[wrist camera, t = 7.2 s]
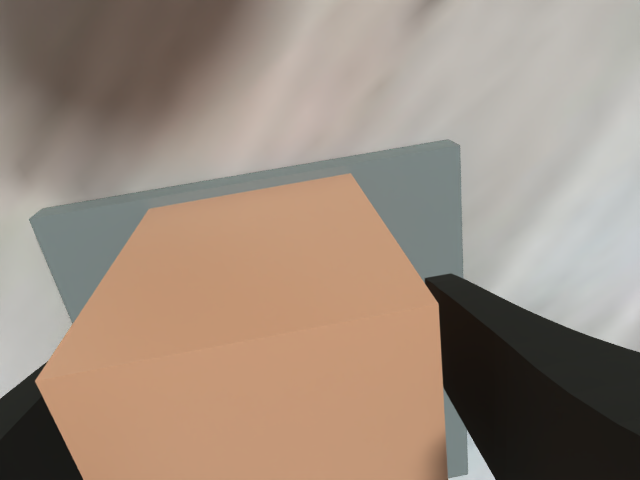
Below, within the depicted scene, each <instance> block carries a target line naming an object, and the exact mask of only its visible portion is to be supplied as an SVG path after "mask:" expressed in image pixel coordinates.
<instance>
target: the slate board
mask: <svg viewBox="0 0 640 480" xmlns="http://www.w3.org/2000/svg"><path fill="white" fill-rule="evenodd" d="M349 173H351V174H352V176H353V177H354V179H355V180H356V182H357V183H358V185H359V186H360V188H361V189H362V191H363V192H364V194H365V195H366V197H367V198H368V200H369V201H370V203H371V204H372V206H373V207H374V209H375V210H376V212H377V213H378V215H379V216H380V217H381V219H382V220H383V222H384V223H385V225H386V226H387V228H388V229H389V231H390V232H391V234H392V235H393V237H394V238H395V240H396V241H397V243H398V244H399V246H400V247H401V249H402V250H403V252H404V253H405V255H406V256H407V258H408V259H409V261H410V262H411V264H412V265H413V267H414V268H415V270H416V271H417V273H418V274H419V276H420V277H421V279H422V280H423V282H424V283H425V278H428V277H433V276H439V275H444V274H450V273H452V274H454V275H456V276H459V277H461V278H463V249H462V207H461V165H460V145H458V144H456V143H454V142H453V141H451V140H443V141H437V142H431V143H425V144H419V145H413V146H408V147H402V148H396V149H390V150H384V151H378V152H372V153H366V154H361V155H355V156H349V157H343V158H337V159H331V160H325V161H319V162H313V163H308V164H302V165H296V166H290V167H284V168H278V169H272V170H266V171H261V172H255V173H249V174H243V175H237V176H231V177H225V178H219V179H214V180H208V181H202V182H196V183H190V184H184V185H178V186H172V187H167V188H161V189H155V190H149V191H143V192H137V193H131V194H125V195H119V196H114V197H108V198H102V199H96V200H90V201H84V202H78V203H72V204H67V205H61V206H55V207H49V208H43V209H41V210H40V211H39V212H37V213H36V214H35V215H34V216H32V217H31V218H30V219H29V221H30V223H31V225H32V228H33V230H34V233H35V235H36V237H37V240H38V242H39V245H40V247H41V249H42V252H43V254H44V256H45V259H46V261H47V264H48V266H49V268H50V271H51V273H52V276H53V278H54V280H55V283H56V285H57V287H58V290H59V292H60V295H61V297H62V299H63V302H64V304H65V307H66V309H67V311H68V314H69V316H70V318H71V321H72V323H74V321H75V320H76V318H77V317H78V315H79V314H80V312H81V311H82V309H83V308H84V306H85V305H86V303H87V302H88V300H89V299H90V297H91V296H92V294H93V293H94V291H95V290H96V288H97V287H98V285H99V284H100V282H101V280H102V279H103V277H104V276H105V274H106V273H107V271H108V270H109V268H110V267H111V265H112V264H113V262H114V261H115V259H116V258H117V256H118V255H119V253H120V252H121V250H122V249H123V247H124V246H125V244H126V243H127V241H128V240H129V238H130V237H131V235H132V234H133V232H134V231H135V229H136V228H137V226H138V225H139V223H140V222H141V220H142V219H143V217H144V215H145V214H146V212H147V211H148V209H151V208H156V207H162V206H168V205H173V204H179V203H185V202H190V201H196V200H202V199H207V198H213V197H219V196H224V195H230V194H236V193H241V192H247V191H253V190H258V189H264V188H270V187H275V186H281V185H287V184H292V183H298V182H304V181H309V180H315V179H321V178H326V177H332V176H338V175H343V174H349ZM443 395H444V414H445V432H446V450H447V469H448V478H452V477H457V476H462V475H467V474H468V457H467V429H466V427H465V425H464V424H463V422H462V420H461V418H460V417H459V415H458V413H457V411H456V409H455V408H454V406H453V404H452V402H451V401H450V399H449V397H448V395H447V393H446V392H445V390H444V387H443Z"/></svg>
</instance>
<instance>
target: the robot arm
mask: <svg viewBox="0 0 640 480" xmlns="http://www.w3.org/2000/svg"><path fill="white" fill-rule="evenodd" d="M425 285H426V286H427V287H428V289H429V290H430V292H431V293H432V295H433V296H434V298H435V299H436V301H437V302H438V304H439V322H440V340H441V358H442V377H443V387H444V390H445V392H446V393H447V395H448V397H449V399H450V401H451V402H452V404H453V406H454V408H455V409H456V411H457V413H458V415H459V417H460V418H461V420H462V422H463V424H464V425H465V427H466V429H467V430H468V432H469V434H470V436H471V437H472V439H473V441H474V443H475V444H476V446H477V448H478V450H479V451H480V453H481V455H482V457H483V458H484V460H485V462H486V463H487V465H488V467H489V469H490V470H491V472H492V474H493V476H494V477H495V479H496V480H640V352H636V351H633V350H630V349H626V348H623V347H620V346H617V345H614V344H611V343H608V342H606V341H603V340H600V339H597V338H594V337H591V336H588V335H585V334H583V333H580V332H577V331H575V330H572V329H570V328H567V327H565V326H562V325H560V324H558V323H555V322H553V321H550V320H548V319H546V318H543V317H541V316H539V315H537V314H534V313H532V312H530V311H528V310H526V309H523V308H521V307H519V306H517V305H515V304H513V303H511V302H509V301H507V300H505V299H503V298H501V297H499V296H497V295H495V294H493V293H491V292H489V291H487V290H485V289H483V288H481V287H479V286H477V285H475V284H473V283H471V282H469V281H467V280H465V279H463V278H461V277H459V276H456V275H454V274H452V273H450V274H444V275H439V276H433V277H428V278H425ZM47 362H48V361H47ZM47 362H46V363H45V364H44V365H42V366H41V367H40V368H39V369H37V370H36V371H35V372H33V373H32V374H31V375H30V376H28V377H27V378H26V379H25V380H23V381H22V382H21V383H20V384H18V385H17V386H16V387H15V388H13V389H12V390H11V391H9V392H8V393H7V394H6V395H4V396H3V397H2V398H1V399H0V480H83V478H82V476H81V474H80V472H79V470H78V468H77V465H76V463H75V461H74V459H73V457H72V455H71V453H70V451H69V449H68V447H67V445H66V443H65V441H64V439H63V437H62V435H61V433H60V431H59V429H58V427H57V425H56V423H55V421H54V419H53V417H52V415H51V413H50V411H49V409H48V407H47V405H46V403H45V400H44V398H43V396H42V394H41V392H40V390H39V388H38V386H37V384H36V382H35V380H36V379H37V377H38V376H39V374H40V373H41V371H42V370H43V368H44V367H45V365H46V364H47Z"/></svg>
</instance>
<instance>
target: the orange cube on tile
mask: <svg viewBox="0 0 640 480" xmlns="http://www.w3.org/2000/svg"><path fill="white" fill-rule="evenodd" d="M35 382H36V384H37V386H38V388H39V390H40V392H41V394H42V396H43V398H44V400H45V403H46V405H47V407H48V409H49V411H50V413H51V415H52V417H53V419H54V421H55V423H56V425H57V427H58V429H59V431H60V433H61V435H62V437H63V439H64V441H65V443H66V445H67V447H68V449H69V451H70V453H71V455H72V457H73V459H74V461H75V463H76V465H77V468H78V470H79V472H80V474H81V476H82V478H83V480H448V469H447V450H446V432H445V414H444V395H443V377H442V358H441V340H440V322H439V304H438V302H437V301H436V299H435V298H434V296H433V295H432V293H431V292H430V290H429V289H428V287H427V286H426V285H425V283H424V282H423V280H422V279H421V277H420V276H419V274H418V273H417V271H416V270H415V268H414V267H413V265H412V264H411V262H410V261H409V259H408V258H407V256H406V255H405V253H404V252H403V250H402V249H401V247H400V246H399V244H398V243H397V241H396V240H395V238H394V237H393V235H392V234H391V232H390V231H389V229H388V228H387V226H386V225H385V223H384V222H383V220H382V219H381V217H380V216H379V215H378V213H377V212H376V210H375V209H374V207H373V206H372V204H371V203H370V201H369V200H368V198H367V197H366V195H365V194H364V192H363V191H362V189H361V188H360V186H359V185H358V183H357V182H356V180H355V179H354V177H353V176H352V174H351V173H349V174H343V175H338V176H332V177H326V178H321V179H315V180H309V181H304V182H298V183H292V184H287V185H281V186H275V187H270V188H264V189H258V190H253V191H247V192H241V193H236V194H230V195H224V196H219V197H213V198H207V199H202V200H196V201H190V202H185V203H179V204H173V205H168V206H162V207H156V208H151V209H148V211H147V212H146V214H145V215H144V217H143V219H142V220H141V222H140V223H139V225H138V226H137V228H136V229H135V231H134V232H133V234H132V235H131V237H130V238H129V240H128V241H127V243H126V244H125V246H124V247H123V249H122V250H121V252H120V253H119V255H118V256H117V258H116V259H115V261H114V262H113V264H112V265H111V267H110V268H109V270H108V271H107V273H106V274H105V276H104V277H103V279H102V280H101V282H100V284H99V285H98V287H97V288H96V290H95V291H94V293H93V294H92V296H91V297H90V299H89V300H88V302H87V303H86V305H85V306H84V308H83V309H82V311H81V312H80V314H79V315H78V317H77V318H76V320H75V321H74V323H73V324H72V326H71V327H70V329H69V330H68V332H67V333H66V335H65V336H64V338H63V339H62V341H61V342H60V344H59V345H58V347H57V349H56V350H55V352H54V353H53V355H52V356H51V358H50V359H49V361H48V362H47V364H46V365H45V367H44V368H43V370H42V371H41V373H40V374H39V376H38V377H37V379H36V380H35Z"/></svg>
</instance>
